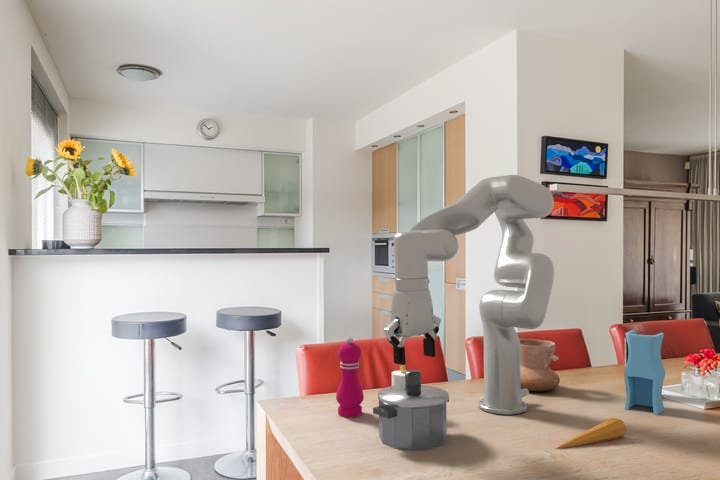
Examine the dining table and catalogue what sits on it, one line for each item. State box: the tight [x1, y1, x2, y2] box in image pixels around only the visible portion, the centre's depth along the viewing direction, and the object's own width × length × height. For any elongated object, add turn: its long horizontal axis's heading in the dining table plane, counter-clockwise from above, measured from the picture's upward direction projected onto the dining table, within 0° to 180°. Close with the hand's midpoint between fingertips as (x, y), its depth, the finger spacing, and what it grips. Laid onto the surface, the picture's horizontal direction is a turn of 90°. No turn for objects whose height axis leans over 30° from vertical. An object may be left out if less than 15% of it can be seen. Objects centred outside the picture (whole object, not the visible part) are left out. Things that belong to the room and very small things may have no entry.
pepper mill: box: [335, 336, 365, 418], centre depth 139 cm, size 7×7×20 cm
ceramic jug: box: [519, 338, 561, 393], centre depth 163 cm, size 18×14×14 cm
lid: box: [377, 369, 450, 409], centre depth 121 cm, size 16×16×8 cm
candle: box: [391, 364, 407, 386], centre depth 139 cm, size 6×6×15 cm
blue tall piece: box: [623, 329, 666, 416], centre depth 141 cm, size 8×8×20 cm
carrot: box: [554, 417, 628, 450], centre depth 118 cm, size 20×4×4 cm, turn 114°
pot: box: [372, 399, 450, 451], centre depth 121 cm, size 19×15×9 cm
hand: (415, 359), depth 122 cm, fingers open, 9 cm apart
